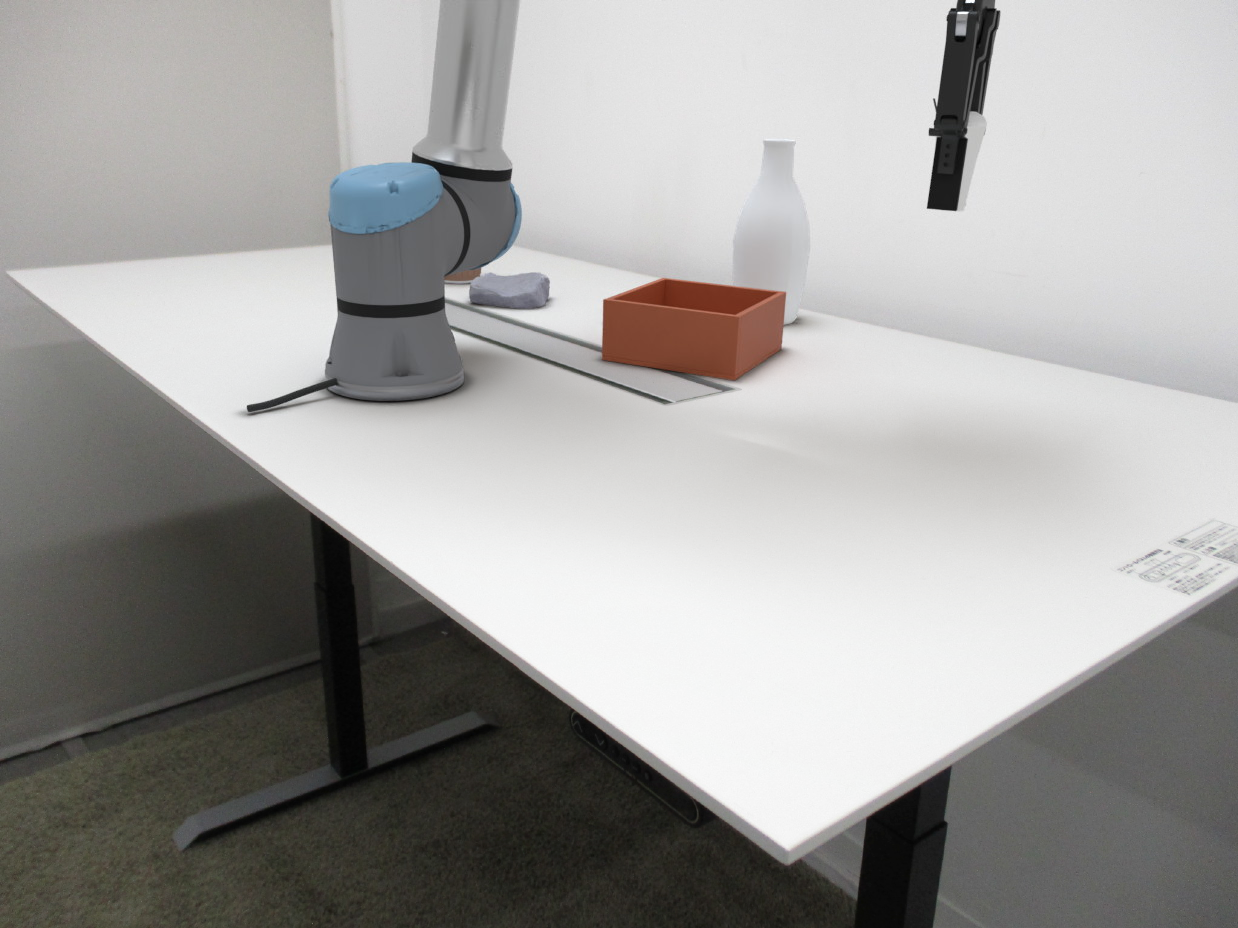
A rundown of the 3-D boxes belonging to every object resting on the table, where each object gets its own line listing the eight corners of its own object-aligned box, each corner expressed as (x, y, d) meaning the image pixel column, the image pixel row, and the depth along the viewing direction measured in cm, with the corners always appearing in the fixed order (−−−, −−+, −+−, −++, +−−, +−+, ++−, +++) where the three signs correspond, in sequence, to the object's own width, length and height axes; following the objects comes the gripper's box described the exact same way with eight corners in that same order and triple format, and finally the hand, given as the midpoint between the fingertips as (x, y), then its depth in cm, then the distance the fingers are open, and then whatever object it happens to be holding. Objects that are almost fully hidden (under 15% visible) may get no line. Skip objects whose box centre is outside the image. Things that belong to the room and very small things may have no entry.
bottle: (746, 308, 157) (758, 136, 148) (814, 317, 152) (831, 140, 143) (715, 320, 148) (726, 139, 139) (786, 331, 143) (802, 143, 134)
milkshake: (926, 205, 101) (943, 99, 98) (978, 211, 98) (998, 102, 94) (907, 207, 98) (923, 97, 94) (960, 213, 95) (979, 100, 91)
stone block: (542, 320, 152) (552, 295, 161) (539, 291, 150) (550, 266, 158) (465, 319, 154) (479, 294, 162) (461, 290, 151) (476, 265, 159)
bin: (734, 380, 118) (739, 317, 115) (601, 360, 125) (603, 299, 123) (781, 349, 133) (786, 291, 130) (660, 332, 140) (662, 277, 138)
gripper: (1019, -78, 81) (972, 220, 89) (1041, -52, 95) (999, 202, 103) (924, -76, 84) (887, 212, 92) (959, -50, 98) (924, 196, 106)
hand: (946, 206), depth 98 cm, fingers closed on milkshake, 4 cm apart
